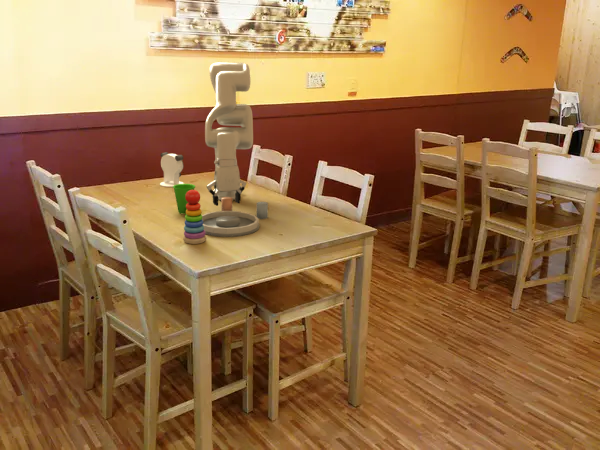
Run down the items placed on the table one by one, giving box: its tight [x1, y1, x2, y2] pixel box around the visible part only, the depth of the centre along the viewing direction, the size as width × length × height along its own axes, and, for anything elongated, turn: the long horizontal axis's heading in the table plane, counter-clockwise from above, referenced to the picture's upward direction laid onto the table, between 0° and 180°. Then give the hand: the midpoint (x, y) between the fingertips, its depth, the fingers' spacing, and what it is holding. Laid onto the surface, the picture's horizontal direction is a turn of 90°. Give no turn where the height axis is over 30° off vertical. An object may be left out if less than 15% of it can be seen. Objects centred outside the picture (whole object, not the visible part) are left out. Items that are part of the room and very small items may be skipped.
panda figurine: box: [159, 151, 185, 188], centre depth 283 cm, size 12×11×15 cm
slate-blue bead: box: [256, 201, 269, 220], centre depth 236 cm, size 4×4×6 cm
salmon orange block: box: [220, 197, 233, 211], centre depth 241 cm, size 4×4×6 cm
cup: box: [172, 183, 196, 215], centre depth 239 cm, size 9×9×11 cm
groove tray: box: [201, 210, 260, 238], centre depth 223 cm, size 24×24×3 cm
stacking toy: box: [182, 189, 207, 245], centre depth 204 cm, size 8×8×19 cm
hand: (226, 203), depth 240 cm, fingers open, 9 cm apart
